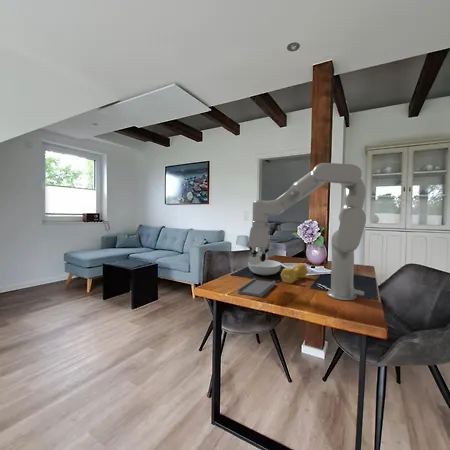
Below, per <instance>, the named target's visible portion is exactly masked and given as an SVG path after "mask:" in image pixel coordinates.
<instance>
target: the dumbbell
mask: <svg viewBox="0 0 450 450" xmlns="http://www.w3.org/2000/svg"><path fill="white" fill-rule="evenodd" d="M307 274H308V269H307V267H306V265H305V264H302V263H296V264H295V265H294V266H293V267H292V268H290V267H284V268H283V269H282V271H281V273H280V278H281V280H282V282H283V283H286V284H293V283H294V282H296V279H297V278H298V279H304V278H305V277H306V276H307Z"/></svg>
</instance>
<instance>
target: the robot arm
mask: <svg viewBox="0 0 450 450" xmlns="http://www.w3.org/2000/svg"><path fill="white" fill-rule="evenodd" d="M362 174H363V173H362V169H361V168H360V167H359V166H358V165H356V164H353V163H335V162H321V163H318V164H317V165H315V166H314V168H313V169H312V170H311V171H309V172H308V173H306V174H305V175H304V176H302V177H301V178H300V179H298V180H297V181H295V182H294V183H293V184H292V185H291V186H290V187H289V189H287V191H285V192H284V193H283V194H282V195H279V197H277V198H276V199H272V200H261V199H259V200H258V199H257V200H253V202H252V217H251V218H252V219H251V220H252V222H251V223H252V224H251V225H252V226H251V227H250V229H249V238H248V242H247V243H246V244H245V247H246V248H248V249H249V250H250V252H251V256H252V255H256V254H257V251H256V250H257V248H261V249H262V251H261V252H263V254H262V262H264V261H265V260H267V259H266V253H268V252H269V251H270V250H273V249H274V247H273V245H272V243H271V234H270V233H271V232H270V227H269V226H271V222H269V221H268V215H270V216H278V215H281V214H282V213H283V212H285V211H286V210H288V209H289V208H291V207H292V206H293V205H295V204H297V203H298V202H299V201H302V200H303V199H305V198H307V196H309V195H310V194H312V193H313V192H314V191H316V190H317V189H319V188H320V187H322V186H323V185H324V184H326V183H333V184H340V185H341V186H342V187H343V189H344V196H343V201H342V204H341V209H340V211H339V214H338V221H339V226H338V229H337V230H336V231H335V232H333V234H332V236H331V239H330V240H331V242H330V243H331V270H330V271H331V272H330V273H331V274H330V275H331V276H330V289H329V290H328V291H327V292H326V295H327V296H329V297H330V298H333V299H335V300H339V301H340V300H341V301H353V300H356V299H357V296H361V297H363V296H365V291H362V290H360V289H356V288H355V286H354V276H355V275H354V267H355V266H354V265H355V251H356V250H357V249H358V248H359V246H360V244H361V239H362V237H363V233H364V231H365V227H366V222H367V214H366V212H365V210H364V209H363V208H364V204H365V199H366V193H367V192H366V186H365V183H364V181H363V180H362V176H363V175H362Z"/></svg>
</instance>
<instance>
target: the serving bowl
mask: <svg viewBox="0 0 450 450" xmlns="http://www.w3.org/2000/svg"><path fill="white" fill-rule="evenodd" d="M247 266H248V269H249V270H250V271H251V272H252V273H254V274H256V275H259V276H270V275H275V274H277V273H278V272H279V271H280V270H281V268H282V262H280V261H276V260H270V259H266V260H265V261H264V262H261V263H259V264H257V265H253V264H249V261H248V262H247Z"/></svg>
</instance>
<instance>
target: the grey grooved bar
mask: <svg viewBox="0 0 450 450" xmlns="http://www.w3.org/2000/svg"><path fill="white" fill-rule="evenodd" d="M262 254H263V251H260V252H258V253H256V255H252V254H251V255H249V256H248V262H249V264H253V265H257V264H259V263H261V262H262ZM268 257H269V256H268V252H267V253H266V260H269V259H268Z"/></svg>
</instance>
